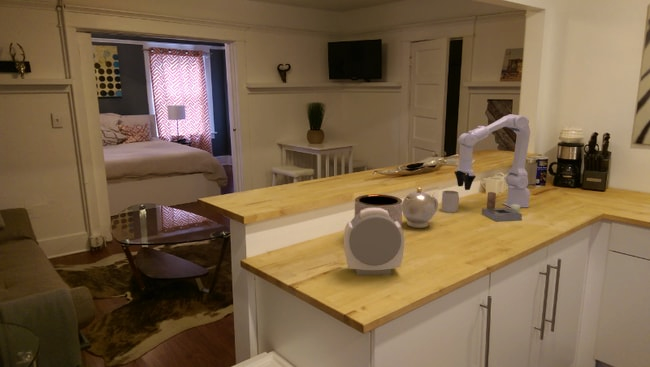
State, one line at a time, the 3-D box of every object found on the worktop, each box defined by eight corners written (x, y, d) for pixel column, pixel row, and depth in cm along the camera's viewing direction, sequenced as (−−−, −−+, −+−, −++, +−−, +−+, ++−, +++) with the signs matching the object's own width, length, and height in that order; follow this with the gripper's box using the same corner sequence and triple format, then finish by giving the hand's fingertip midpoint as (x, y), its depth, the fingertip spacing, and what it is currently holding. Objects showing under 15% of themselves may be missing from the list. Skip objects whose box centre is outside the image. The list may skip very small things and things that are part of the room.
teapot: (414, 233, 174) (416, 192, 171) (393, 224, 186) (394, 186, 182) (448, 226, 183) (450, 187, 180) (425, 218, 195) (427, 181, 191)
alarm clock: (398, 265, 143) (400, 205, 138) (404, 276, 134) (406, 212, 130) (343, 266, 142) (343, 205, 138) (345, 277, 134) (346, 213, 130)
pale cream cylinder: (516, 212, 204) (517, 203, 203) (521, 214, 200) (521, 205, 200) (509, 212, 203) (510, 204, 202) (513, 214, 200) (514, 206, 199)
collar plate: (505, 212, 203) (506, 207, 203) (521, 220, 192) (522, 214, 191) (481, 213, 201) (482, 208, 201) (496, 221, 190) (496, 215, 189)
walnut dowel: (492, 208, 210) (493, 192, 209) (496, 210, 207) (497, 193, 205) (485, 208, 210) (486, 192, 208) (489, 210, 206) (490, 194, 204)
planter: (363, 250, 156) (364, 207, 153) (347, 234, 173) (348, 195, 170) (409, 245, 161) (411, 203, 158) (389, 230, 178) (390, 192, 174)
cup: (438, 210, 207) (439, 192, 205) (451, 207, 213) (452, 189, 211) (451, 213, 201) (452, 194, 199) (464, 210, 207) (465, 191, 205)
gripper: (451, 157, 211) (449, 184, 214) (464, 162, 197) (462, 191, 200) (465, 156, 212) (463, 184, 215) (479, 161, 198) (477, 191, 201)
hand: (463, 188), depth 208 cm, fingers open, 7 cm apart
